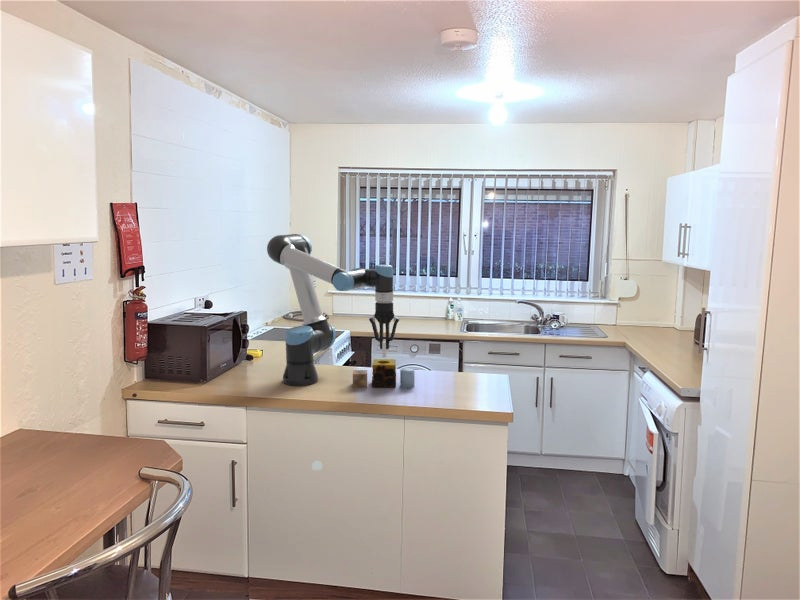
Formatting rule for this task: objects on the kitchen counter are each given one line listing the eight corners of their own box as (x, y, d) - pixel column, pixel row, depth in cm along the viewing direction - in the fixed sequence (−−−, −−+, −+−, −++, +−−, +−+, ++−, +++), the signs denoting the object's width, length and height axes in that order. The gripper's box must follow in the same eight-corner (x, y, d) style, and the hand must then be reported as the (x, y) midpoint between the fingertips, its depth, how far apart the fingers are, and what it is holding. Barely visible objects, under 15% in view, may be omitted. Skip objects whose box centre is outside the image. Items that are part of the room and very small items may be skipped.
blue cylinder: (399, 387, 251) (399, 371, 250) (401, 383, 257) (401, 367, 255) (413, 388, 250) (413, 372, 249) (415, 384, 256) (415, 368, 255)
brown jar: (352, 388, 251) (352, 374, 250) (353, 383, 257) (353, 370, 256) (367, 387, 251) (367, 374, 250) (367, 383, 257) (367, 370, 256)
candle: (395, 388, 250) (395, 365, 249) (371, 388, 251) (371, 365, 249) (396, 381, 260) (396, 358, 259) (373, 381, 261) (373, 358, 259)
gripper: (367, 302, 247) (367, 358, 251) (398, 303, 245) (398, 359, 249) (370, 300, 254) (371, 354, 258) (400, 300, 253) (401, 354, 256)
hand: (384, 356), depth 253 cm, fingers closed
